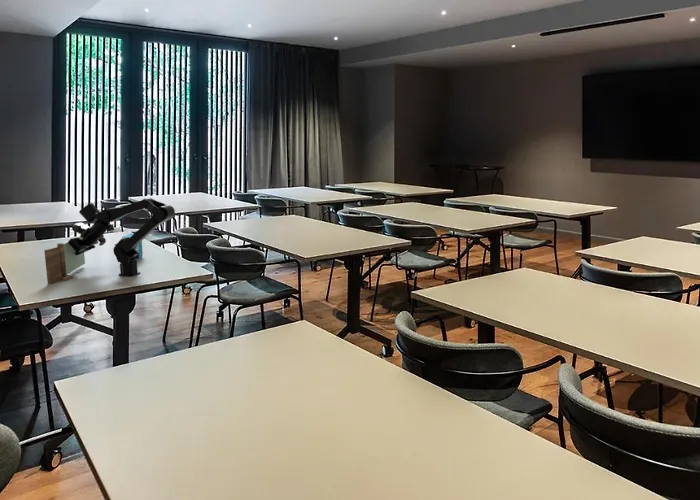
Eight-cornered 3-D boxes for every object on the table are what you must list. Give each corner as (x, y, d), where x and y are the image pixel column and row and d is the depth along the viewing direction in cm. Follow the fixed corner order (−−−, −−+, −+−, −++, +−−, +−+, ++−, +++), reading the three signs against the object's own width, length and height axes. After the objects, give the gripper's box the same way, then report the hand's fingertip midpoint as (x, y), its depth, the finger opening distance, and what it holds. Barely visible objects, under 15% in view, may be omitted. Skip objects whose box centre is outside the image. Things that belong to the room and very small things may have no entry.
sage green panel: (85, 263, 260) (82, 235, 257) (66, 274, 239) (63, 244, 236) (78, 263, 259) (75, 235, 257) (58, 274, 238) (55, 244, 236)
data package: (132, 262, 270) (130, 237, 267) (122, 262, 270) (121, 237, 268) (143, 257, 282) (141, 233, 279) (134, 257, 282) (132, 233, 279)
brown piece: (73, 278, 239) (69, 242, 236) (54, 284, 228) (50, 247, 226) (62, 277, 240) (59, 242, 237) (43, 284, 229) (39, 247, 226)
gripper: (97, 214, 254) (77, 237, 258) (70, 219, 236) (48, 245, 240) (115, 232, 254) (94, 255, 258) (88, 239, 236) (67, 264, 240)
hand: (76, 254), depth 249 cm, fingers closed
